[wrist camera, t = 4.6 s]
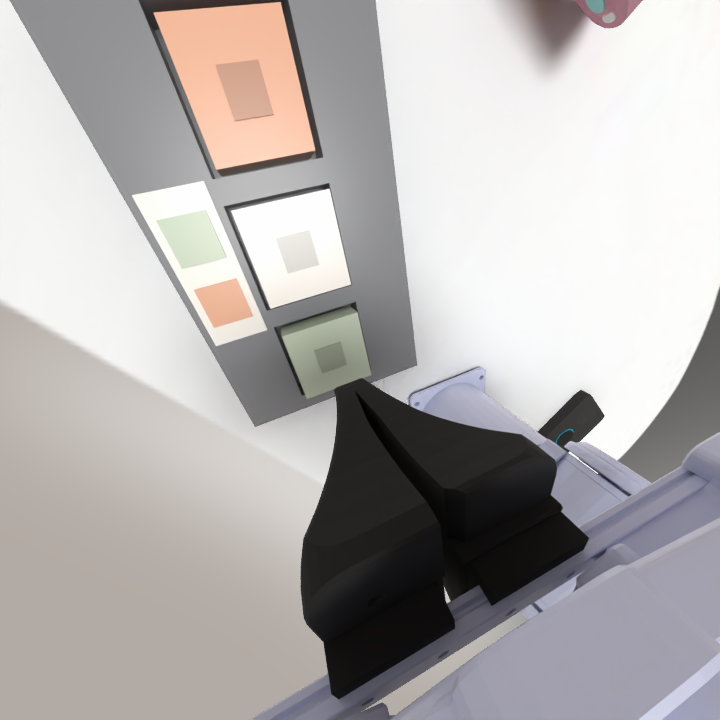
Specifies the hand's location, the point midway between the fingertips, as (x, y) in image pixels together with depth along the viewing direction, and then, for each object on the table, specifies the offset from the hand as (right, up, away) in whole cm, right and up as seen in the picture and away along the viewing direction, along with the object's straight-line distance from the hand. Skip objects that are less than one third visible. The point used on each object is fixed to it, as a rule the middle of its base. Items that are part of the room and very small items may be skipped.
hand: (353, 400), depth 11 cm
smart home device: (+25, -11, +25) cm, 37 cm away
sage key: (-2, +3, +5) cm, 6 cm away
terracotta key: (-5, +13, 0) cm, 14 cm away
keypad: (-4, +9, +4) cm, 10 cm away
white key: (-3, +8, +2) cm, 9 cm away
